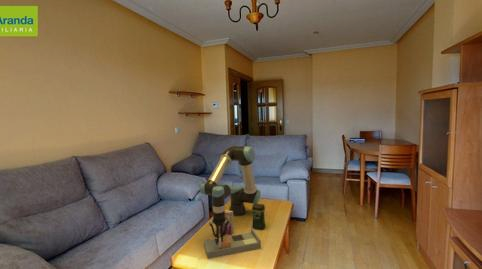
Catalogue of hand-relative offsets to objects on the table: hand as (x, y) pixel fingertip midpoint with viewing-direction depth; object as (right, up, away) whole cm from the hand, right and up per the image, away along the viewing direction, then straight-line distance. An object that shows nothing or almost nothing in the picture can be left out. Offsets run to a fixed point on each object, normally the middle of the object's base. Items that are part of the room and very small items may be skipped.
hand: (219, 246), depth 156 cm
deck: (+7, -3, +6) cm, 10 cm away
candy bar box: (+2, -1, +25) cm, 25 cm away
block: (+3, -1, +2) cm, 4 cm away
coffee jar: (+27, 0, +31) cm, 42 cm away
